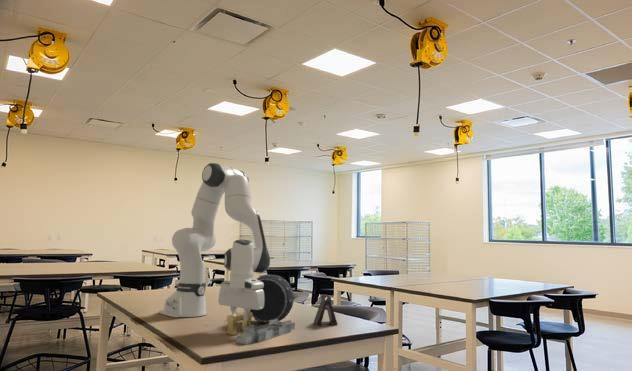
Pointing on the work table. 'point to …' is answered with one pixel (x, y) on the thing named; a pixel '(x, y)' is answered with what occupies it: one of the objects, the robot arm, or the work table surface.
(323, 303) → the brown a-shaped stand
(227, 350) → the work table surface
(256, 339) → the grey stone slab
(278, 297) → the dark grey short cylinder
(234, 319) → the tan notched block
